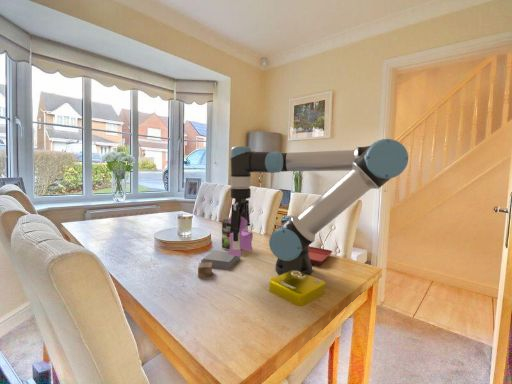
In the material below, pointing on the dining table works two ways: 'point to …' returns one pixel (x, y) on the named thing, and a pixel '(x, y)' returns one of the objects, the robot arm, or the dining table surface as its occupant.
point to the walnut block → (205, 269)
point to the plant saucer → (318, 255)
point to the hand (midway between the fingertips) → (240, 245)
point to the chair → (241, 239)
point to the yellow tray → (297, 287)
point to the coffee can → (226, 234)
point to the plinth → (220, 259)
